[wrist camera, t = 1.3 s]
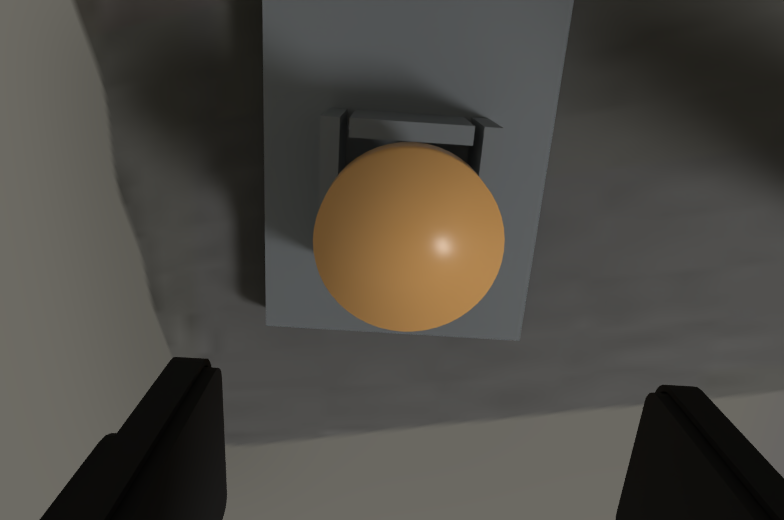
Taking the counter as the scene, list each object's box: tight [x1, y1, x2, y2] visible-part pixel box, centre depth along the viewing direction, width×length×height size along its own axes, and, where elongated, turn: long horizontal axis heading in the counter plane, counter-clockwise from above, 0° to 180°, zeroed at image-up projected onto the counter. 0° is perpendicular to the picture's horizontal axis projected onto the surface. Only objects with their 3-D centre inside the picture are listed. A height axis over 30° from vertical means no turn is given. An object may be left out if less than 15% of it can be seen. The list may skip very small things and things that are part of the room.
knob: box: [313, 142, 505, 332], centre depth 23 cm, size 7×7×6 cm
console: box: [262, 0, 574, 341], centre depth 25 cm, size 32×14×6 cm, turn 176°
